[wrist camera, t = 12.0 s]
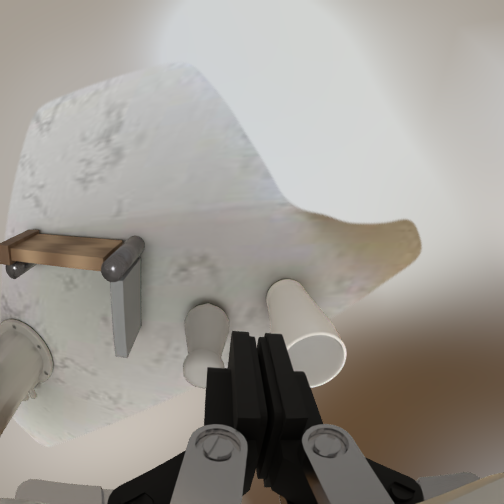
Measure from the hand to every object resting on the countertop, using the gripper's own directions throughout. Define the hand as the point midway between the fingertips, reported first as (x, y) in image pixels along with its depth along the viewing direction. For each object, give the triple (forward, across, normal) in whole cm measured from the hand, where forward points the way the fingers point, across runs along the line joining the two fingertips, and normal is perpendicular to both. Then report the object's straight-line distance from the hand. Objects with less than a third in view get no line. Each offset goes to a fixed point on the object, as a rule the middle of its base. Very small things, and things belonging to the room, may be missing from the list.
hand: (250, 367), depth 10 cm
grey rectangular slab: (+29, +12, +12) cm, 34 cm away
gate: (+28, +21, +5) cm, 35 cm away
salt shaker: (+29, +2, +14) cm, 33 cm away
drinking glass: (+30, -8, +10) cm, 32 cm away
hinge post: (+29, +12, +5) cm, 32 cm away
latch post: (+29, +27, +8) cm, 41 cm away
